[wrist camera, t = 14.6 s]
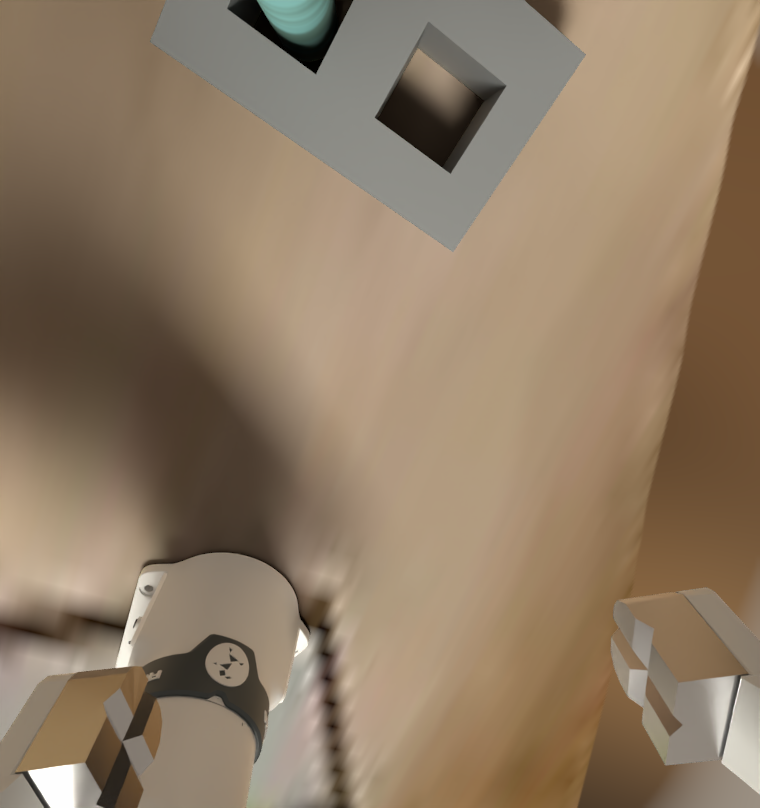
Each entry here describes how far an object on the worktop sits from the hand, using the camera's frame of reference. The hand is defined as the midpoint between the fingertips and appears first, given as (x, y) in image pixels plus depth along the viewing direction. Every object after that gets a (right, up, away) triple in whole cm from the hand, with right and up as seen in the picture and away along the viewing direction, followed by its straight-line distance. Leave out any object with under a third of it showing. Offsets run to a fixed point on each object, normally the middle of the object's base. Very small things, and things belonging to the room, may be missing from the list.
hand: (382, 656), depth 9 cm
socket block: (-1, +27, +25) cm, 37 cm away
